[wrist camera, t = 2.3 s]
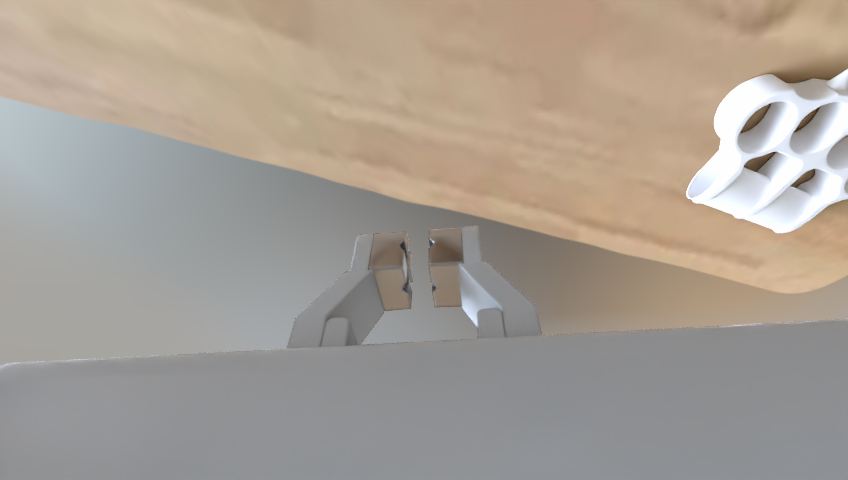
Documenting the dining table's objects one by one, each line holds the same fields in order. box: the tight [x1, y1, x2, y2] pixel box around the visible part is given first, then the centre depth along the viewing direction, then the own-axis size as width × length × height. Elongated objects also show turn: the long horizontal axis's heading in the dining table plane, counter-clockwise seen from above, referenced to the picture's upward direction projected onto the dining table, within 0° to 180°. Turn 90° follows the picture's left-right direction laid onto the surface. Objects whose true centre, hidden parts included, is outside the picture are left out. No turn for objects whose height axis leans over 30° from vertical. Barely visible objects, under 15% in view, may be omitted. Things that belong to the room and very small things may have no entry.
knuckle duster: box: [687, 69, 848, 233], centre depth 40 cm, size 3×18×15 cm
